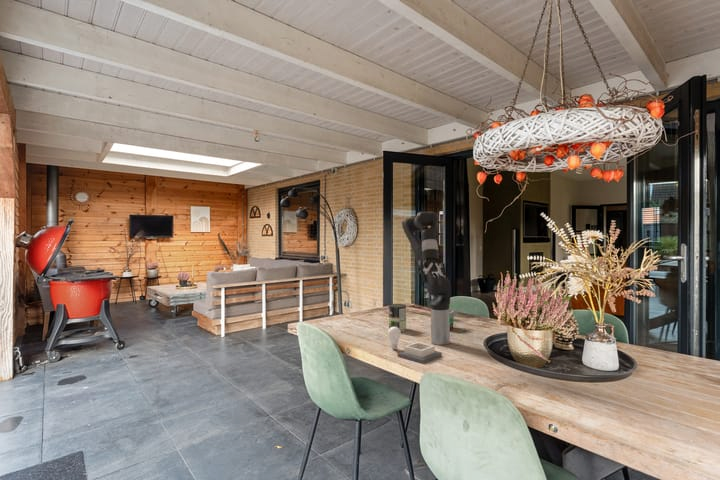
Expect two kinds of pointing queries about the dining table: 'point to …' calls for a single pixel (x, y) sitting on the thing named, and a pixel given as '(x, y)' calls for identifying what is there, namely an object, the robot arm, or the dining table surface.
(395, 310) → the coffee can
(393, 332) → the lightbulb
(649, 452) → the dining table surface
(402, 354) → the socket stand
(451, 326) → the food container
